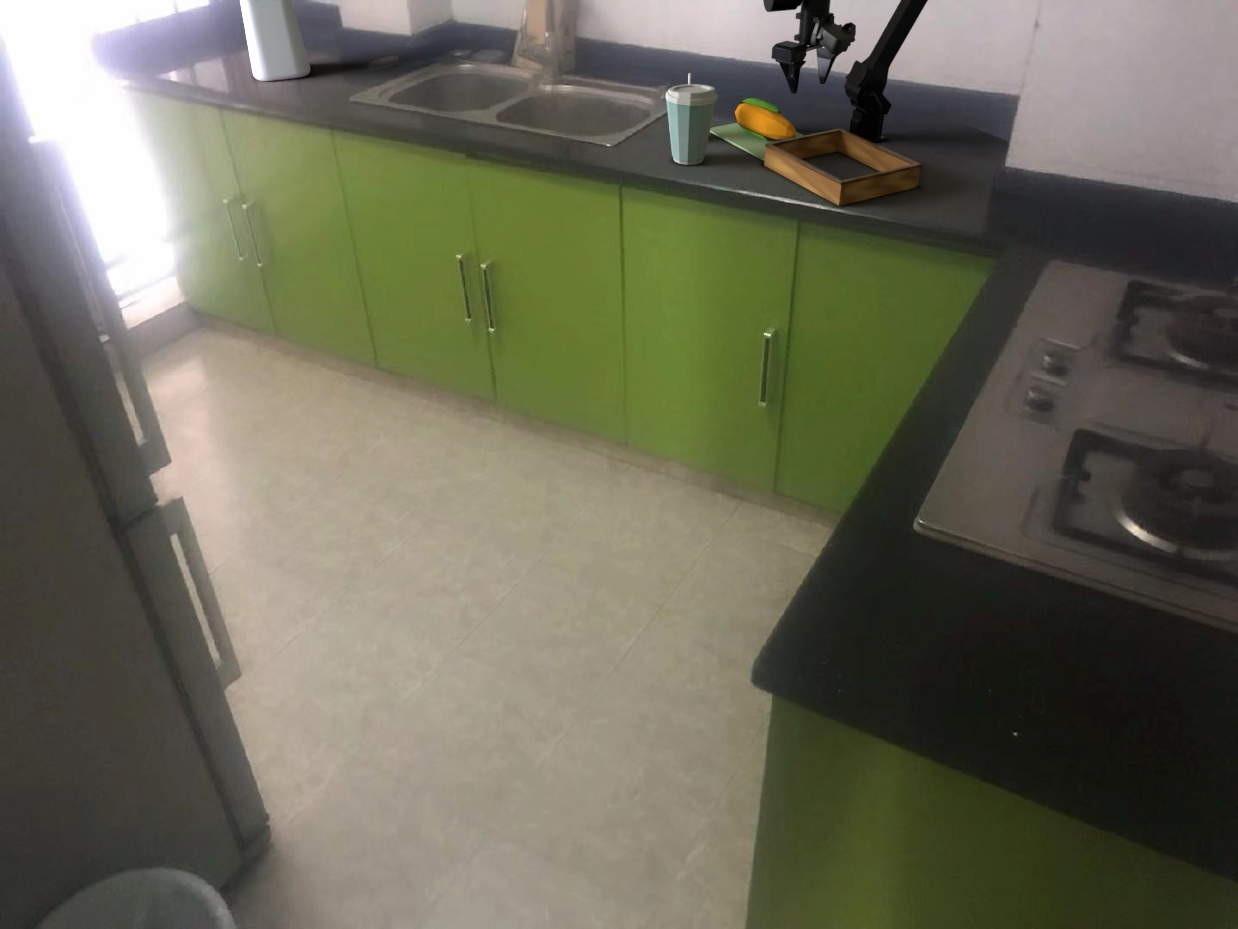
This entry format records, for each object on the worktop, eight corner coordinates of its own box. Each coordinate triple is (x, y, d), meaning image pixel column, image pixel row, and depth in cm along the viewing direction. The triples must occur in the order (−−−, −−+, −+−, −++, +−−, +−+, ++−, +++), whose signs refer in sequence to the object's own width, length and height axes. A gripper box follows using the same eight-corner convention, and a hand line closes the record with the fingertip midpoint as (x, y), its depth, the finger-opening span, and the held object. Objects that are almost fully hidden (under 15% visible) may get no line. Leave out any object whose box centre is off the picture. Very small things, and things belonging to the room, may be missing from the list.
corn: (754, 87, 213) (811, 110, 199) (753, 121, 218) (809, 145, 204) (726, 95, 210) (782, 118, 196) (727, 129, 215) (782, 154, 201)
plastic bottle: (312, 77, 258) (288, -38, 241) (254, 83, 254) (226, -33, 237) (308, 63, 269) (285, -47, 252) (253, 69, 266) (226, -43, 249)
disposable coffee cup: (656, 156, 203) (656, 83, 194) (700, 148, 206) (703, 76, 197) (677, 171, 195) (679, 96, 186) (724, 163, 198) (727, 89, 189)
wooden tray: (838, 149, 203) (840, 127, 201) (918, 187, 185) (922, 163, 183) (763, 165, 197) (764, 143, 194) (838, 206, 179) (841, 182, 176)
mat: (765, 119, 221) (765, 116, 221) (828, 149, 204) (829, 146, 203) (706, 130, 215) (706, 128, 215) (766, 162, 198) (766, 160, 198)
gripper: (816, 22, 180) (809, 106, 189) (877, 5, 189) (867, 86, 199) (772, 13, 187) (767, 95, 196) (832, -3, 196) (825, 76, 206)
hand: (808, 88), depth 199 cm, fingers open, 9 cm apart
